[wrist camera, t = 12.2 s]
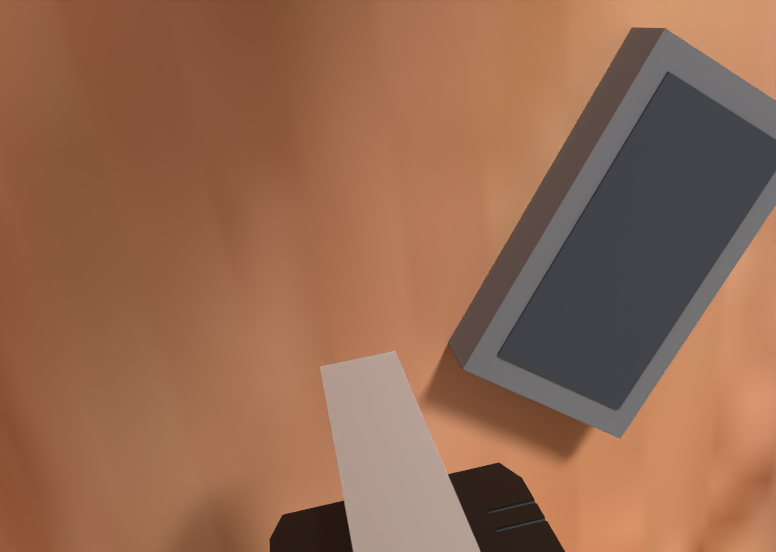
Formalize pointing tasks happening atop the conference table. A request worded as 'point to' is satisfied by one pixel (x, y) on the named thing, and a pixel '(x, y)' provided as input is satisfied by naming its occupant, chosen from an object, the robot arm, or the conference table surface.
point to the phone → (626, 235)
